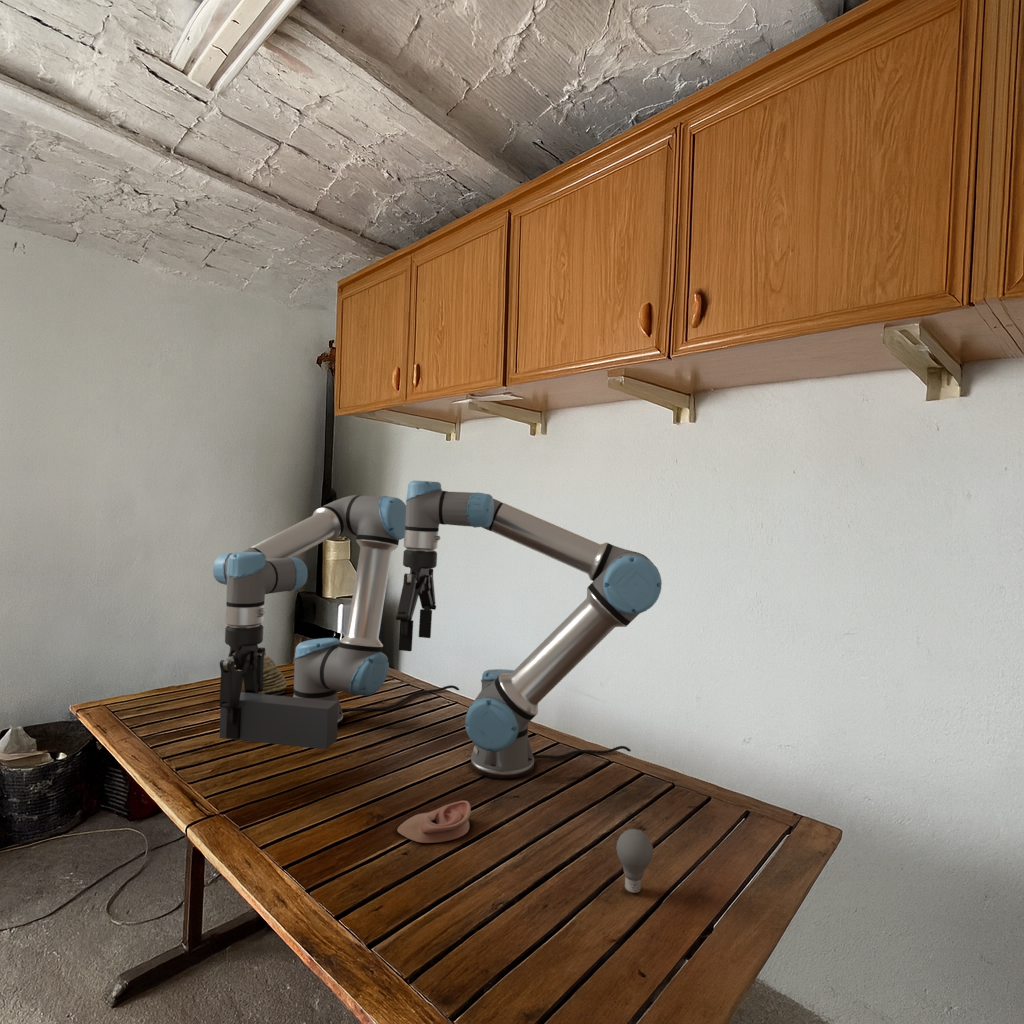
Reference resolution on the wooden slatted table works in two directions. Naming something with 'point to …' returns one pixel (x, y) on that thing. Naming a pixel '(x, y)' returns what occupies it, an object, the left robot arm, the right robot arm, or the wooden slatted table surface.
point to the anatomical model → (438, 824)
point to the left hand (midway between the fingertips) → (240, 732)
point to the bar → (285, 720)
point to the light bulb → (634, 857)
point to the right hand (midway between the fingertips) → (415, 643)
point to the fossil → (271, 678)
